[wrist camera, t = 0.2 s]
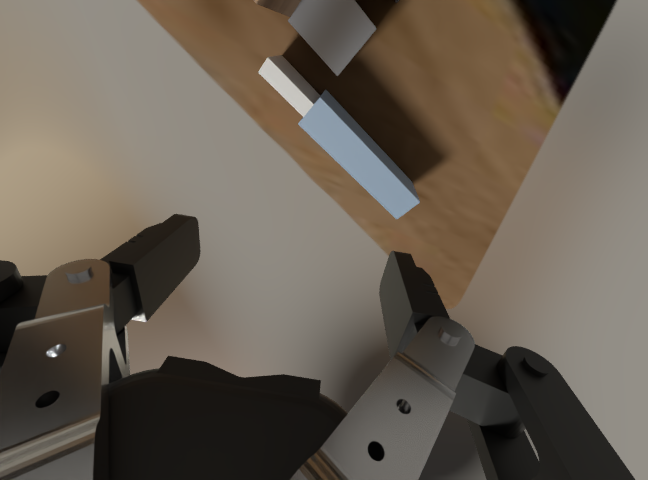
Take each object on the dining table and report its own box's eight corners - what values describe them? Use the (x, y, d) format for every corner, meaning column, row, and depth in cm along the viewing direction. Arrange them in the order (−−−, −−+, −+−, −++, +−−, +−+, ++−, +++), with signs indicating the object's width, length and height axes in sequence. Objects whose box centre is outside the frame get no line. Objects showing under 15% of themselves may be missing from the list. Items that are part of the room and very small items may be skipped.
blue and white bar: (268, 74, 27) (252, 80, 23) (287, 47, 25) (273, 48, 21) (391, 198, 33) (396, 219, 29) (412, 182, 32) (420, 202, 28)
